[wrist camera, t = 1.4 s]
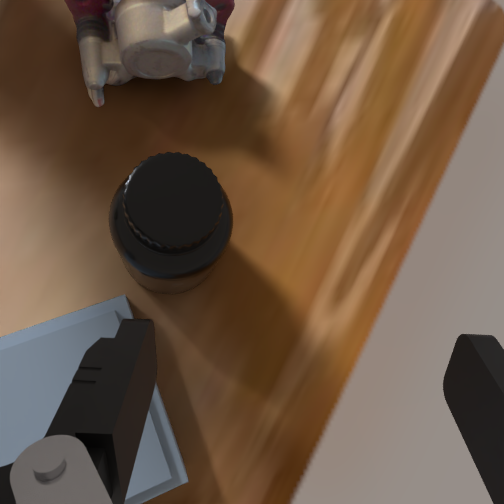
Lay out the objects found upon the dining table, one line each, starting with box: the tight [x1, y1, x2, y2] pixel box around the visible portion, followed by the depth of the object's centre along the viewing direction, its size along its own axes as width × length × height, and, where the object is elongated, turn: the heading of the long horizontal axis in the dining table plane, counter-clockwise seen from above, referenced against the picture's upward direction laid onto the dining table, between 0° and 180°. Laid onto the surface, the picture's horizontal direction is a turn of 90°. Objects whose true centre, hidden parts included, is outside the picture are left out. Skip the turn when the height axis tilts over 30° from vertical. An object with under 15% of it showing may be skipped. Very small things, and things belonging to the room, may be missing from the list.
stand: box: [0, 294, 188, 504], centre depth 28 cm, size 12×12×4 cm
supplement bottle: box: [109, 152, 233, 294], centre depth 27 cm, size 7×7×12 cm
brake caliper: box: [65, 0, 235, 107], centre depth 32 cm, size 11×11×12 cm
